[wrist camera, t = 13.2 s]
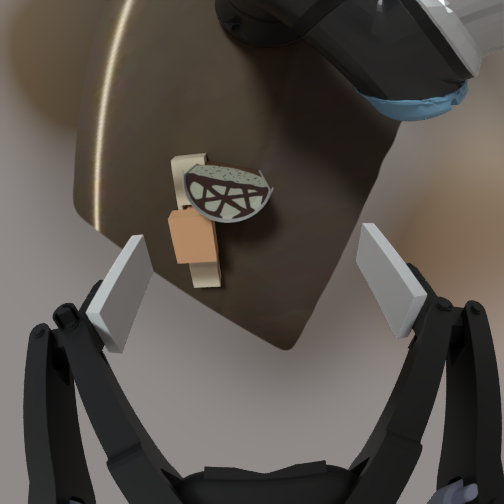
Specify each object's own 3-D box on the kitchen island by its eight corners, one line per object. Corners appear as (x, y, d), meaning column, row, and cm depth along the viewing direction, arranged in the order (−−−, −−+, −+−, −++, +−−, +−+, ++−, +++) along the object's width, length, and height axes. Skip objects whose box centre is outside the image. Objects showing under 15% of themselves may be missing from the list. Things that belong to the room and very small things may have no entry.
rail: (175, 156, 40) (170, 160, 37) (206, 152, 40) (203, 157, 37) (196, 277, 53) (194, 287, 50) (221, 276, 53) (220, 286, 50)
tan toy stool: (177, 202, 44) (167, 219, 39) (215, 198, 44) (210, 215, 39) (184, 242, 49) (177, 263, 43) (220, 240, 49) (217, 261, 43)
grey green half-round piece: (187, 192, 44) (174, 217, 35) (192, 156, 41) (179, 174, 32) (259, 205, 46) (263, 234, 37) (268, 171, 42) (275, 192, 34)
